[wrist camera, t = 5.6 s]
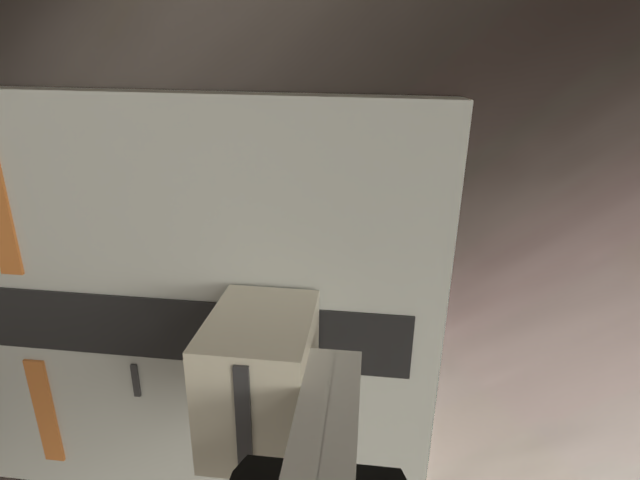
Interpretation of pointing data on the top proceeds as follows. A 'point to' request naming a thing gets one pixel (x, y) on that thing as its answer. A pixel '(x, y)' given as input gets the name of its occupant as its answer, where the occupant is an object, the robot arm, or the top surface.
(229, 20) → the top surface
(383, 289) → the console
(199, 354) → the fader
